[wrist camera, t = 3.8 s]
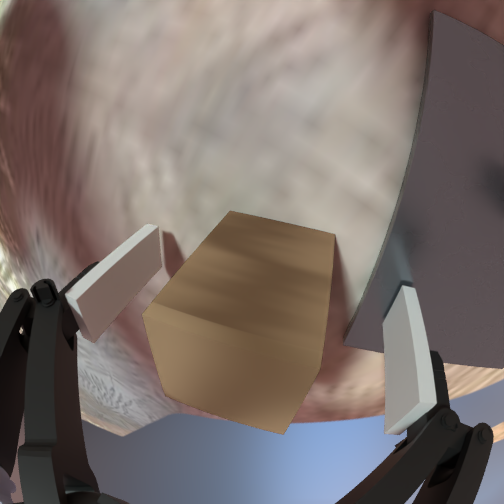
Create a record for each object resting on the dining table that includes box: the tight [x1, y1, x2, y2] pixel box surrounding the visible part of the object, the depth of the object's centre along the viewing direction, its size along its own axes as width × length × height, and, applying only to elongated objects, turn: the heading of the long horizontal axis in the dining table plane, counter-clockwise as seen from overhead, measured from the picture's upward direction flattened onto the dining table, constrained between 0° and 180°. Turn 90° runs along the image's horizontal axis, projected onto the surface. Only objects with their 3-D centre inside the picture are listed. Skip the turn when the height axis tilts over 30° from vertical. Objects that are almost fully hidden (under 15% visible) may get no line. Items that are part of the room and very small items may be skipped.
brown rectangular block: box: [142, 211, 335, 434], centre depth 12 cm, size 5×5×8 cm
